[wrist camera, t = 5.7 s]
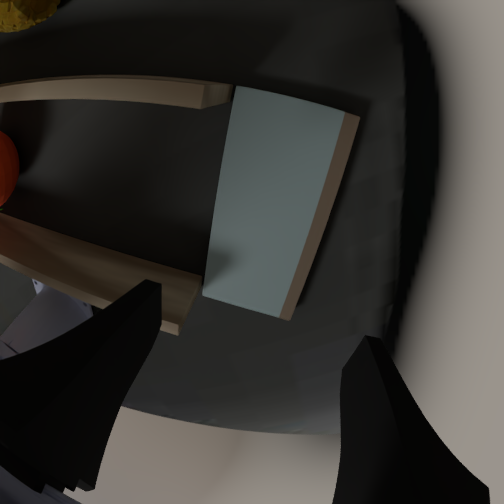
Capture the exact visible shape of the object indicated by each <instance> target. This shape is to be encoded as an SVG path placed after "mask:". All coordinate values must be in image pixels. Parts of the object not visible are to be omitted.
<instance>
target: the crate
mask: <svg viewBox="0 0 504 504" xmlns="http://www.w3.org/2000/svg"><path fill="white" fill-rule="evenodd" d="M232 89H233V85H232V84H226V83H219V82H212V81H204V80H196V79H187V78H177V77H164V76H148V75H76V76H61V77H49V78H40V79H31V80H24V81H17V82H11V83H5V84H0V103H1V102H11V101H24V100H43V99H100V100H120V101H134V102H146V103H156V104H166V105H174V106H182V107H189V108H196V109H203V108H207V107H211V106H215V105H219V104H223V103H227V102H230V99H231V94H232ZM0 263H2V264H4V265H6V266H8V267H10V268H12V269H14V270H16V271H18V272H20V273H22V274H24V275H26V276H28V277H30V278H32V279H34V280H36V281H39V282H41V283H43V284H45V285H47V286H49V287H52V288H54V289H56V290H58V291H60V292H63V293H65V294H67V295H70V296H72V297H74V298H77V299H79V300H82V301H84V302H86V303H89V304H91V305H94V306H96V307H99V308H101V309H104V308H105V307H107V306H108V305H110V304H111V303H113V302H114V301H115V300H117V299H118V298H120V297H121V296H122V295H124V294H125V293H127V292H128V291H129V290H131V289H132V288H133V287H135V286H136V285H138V284H139V283H140V282H142V281H143V280H145V279H148V280H151V281H154V282H158V283H161V284H162V325H161V328H160V330H162V331H165V332H168V333H172V334H175V335H179V333H180V330H181V328H182V326H183V324H184V322H185V320H186V318H187V315H188V313H189V311H190V309H191V307H192V305H193V303H194V301H195V299H196V297H197V294H198V292H199V290H200V288H201V284H202V276H200V275H196V274H193V273H189V272H186V271H182V270H179V269H175V268H172V267H168V266H165V265H161V264H158V263H154V262H151V261H148V260H144V259H141V258H138V257H134V256H131V255H128V254H124V253H121V252H118V251H114V250H111V249H108V248H105V247H102V246H98V245H95V244H92V243H89V242H86V241H83V240H80V239H76V238H73V237H70V236H67V235H64V234H61V233H58V232H55V231H52V230H49V229H46V228H43V227H40V226H37V225H34V224H31V223H28V222H26V221H23V220H20V219H17V218H14V217H11V216H8V215H6V214H3V213H0Z"/></svg>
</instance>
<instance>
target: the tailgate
mask: <svg viewBox="0 0 504 504" xmlns="http://www.w3.org/2000/svg"><path fill="white" fill-rule="evenodd" d="M359 120H360V117H359V116H357V115H354V114H351V113H348V112H345V111H341V110H338V109H335V108H332V107H328V106H325V105H321V104H318V103H314V102H310V101H307V100H303V99H299V98H295V97H291V96H287V95H282V94H278V93H274V92H269V91H264V90H259V89H254V88H249V87H243V86H236V90H235V95H234V100H233V105H232V110H231V116H230V121H229V126H228V132H227V137H226V143H225V148H224V154H223V160H222V165H221V171H220V177H219V183H218V189H217V196H216V202H215V208H214V215H213V221H212V228H211V235H210V242H209V249H208V256H207V264H206V271H205V279H204V287H203V296H206V297H210V298H213V299H216V300H220V301H223V302H226V303H230V304H233V305H236V306H240V307H243V308H247V309H250V310H254V311H257V312H261V313H265V314H268V315H272V316H276V317H279V318H281V319H285V320H289V321H290V319H291V316H292V314H293V311H294V309H295V306H296V304H297V301H298V299H299V296H300V294H301V291H302V289H303V286H304V283H305V281H306V278H307V276H308V273H309V270H310V268H311V265H312V262H313V260H314V257H315V254H316V252H317V249H318V246H319V243H320V241H321V238H322V235H323V232H324V229H325V226H326V224H327V221H328V218H329V215H330V212H331V209H332V206H333V203H334V200H335V197H336V194H337V191H338V188H339V185H340V182H341V179H342V176H343V173H344V170H345V167H346V163H347V160H348V157H349V154H350V150H351V147H352V144H353V141H354V137H355V134H356V130H357V127H358V124H359Z"/></svg>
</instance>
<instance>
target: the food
mask: <svg viewBox="0 0 504 504" xmlns="http://www.w3.org/2000/svg"><path fill="white" fill-rule="evenodd" d="M59 3H60V0H0V32H6V33H7V32H14V31H17V32H19V31H21V30H24V29H27V28H28V29H29V28H31V27H32V26H34V25H37V24H39V23H41V22H42V21H45V20H46V19H47V18H48V17H50V16H52V15H53V14H54V13H55V12H56V11H57V5H58V4H59Z"/></svg>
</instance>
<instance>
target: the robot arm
mask: <svg viewBox="0 0 504 504" xmlns="http://www.w3.org/2000/svg"><path fill="white" fill-rule="evenodd" d="M33 283H34V286H35V289H36V292H37V295H36V296H35V298H34V299H33V300H32V301H31V302H30V303H29V304H28V305H27V306H26V307H25V308H24V310H23V311H22V312H21V313H20V314H19V315H18V316H17V318H16V319H15V320H14V321H13V322H12V323H11V325H10V326H9V327H8V328H7V329H6V331H5V332H4V333H3V334H2V335H1V337H0V504H81V503H80V502H78V501H76V500H74V499H72V498H70V497H68V496H67V495H65V494H63V491H64V489H65V487H66V488H67V489H69V490H71V491H73V492H74V491H75V488H76V487H78V488H80V489H82V490H84V491H90V490H93V489H95V485H96V481H97V477H98V473H99V469H100V465H101V461H102V458H103V455H104V451H105V448H106V445H107V442H108V439H109V436H110V433H111V430H112V427H113V425H114V422H115V419H116V417H117V414H118V412H119V409H120V407H121V404H122V402H123V400H124V398H125V396H126V394H127V392H128V390H129V388H130V387H131V385H132V383H133V381H134V379H135V378H136V376H137V374H138V372H139V370H140V369H141V367H142V365H143V363H144V362H145V360H146V358H147V356H148V354H149V353H150V351H151V349H152V347H153V345H154V342H155V340H156V337H157V335H158V333H159V330H160V328H161V325H162V284H161V283H158V282H154V281H151V280H148V279H145V280H143V281H142V282H140V283H139V284H138V285H136V286H135V287H133V288H132V289H131V290H129V291H128V292H127V293H125V294H124V295H122V296H121V297H120V298H118V299H117V300H115V301H114V302H113V303H111V304H110V305H108V306H107V307H105V308H104V309H103V310H101V311H100V312H98V313H97V314H95V315H94V316H93V312H92V307H91V304H89V303H86V302H84V301H82V300H79V299H77V298H74V297H72V296H70V295H67V294H65V293H63V292H60V291H58V290H56V289H54V288H52V287H49V286H47V285H45V284H43V283H41V282H39V281H36V280H34V279H33ZM340 418H341V454H340V463H339V471H338V477H337V483H336V488H335V494H334V498H333V503H332V504H490V496H489V488H488V487H487V486H486V485H485V484H484V483H482V482H481V481H480V480H479V479H478V478H477V477H475V476H474V475H473V474H472V473H471V472H470V471H469V470H468V469H467V468H466V467H465V466H464V465H463V464H462V463H461V462H460V461H459V460H458V459H457V458H456V457H455V456H454V455H453V454H452V452H451V451H450V450H449V449H448V447H447V446H446V445H445V444H444V443H443V441H442V440H441V439H440V438H439V436H438V435H437V433H436V432H435V431H434V429H433V428H432V426H431V425H430V424H429V422H428V421H427V420H426V418H425V416H424V415H423V414H422V411H421V410H420V408H419V407H418V405H417V403H416V402H415V400H414V398H413V397H412V395H411V393H410V391H409V390H408V388H407V386H406V384H405V383H404V381H403V379H402V377H401V375H400V373H399V372H398V370H397V368H396V366H395V364H394V362H393V360H392V359H391V357H390V355H389V353H388V351H387V349H386V348H385V346H384V344H383V342H382V341H381V339H380V338H376V337H371V336H366V335H365V336H364V338H363V339H362V341H361V342H360V344H359V345H358V347H357V348H356V350H355V351H354V353H353V354H352V356H351V357H350V359H349V360H348V362H347V363H346V365H345V366H344V367H343V369H342V377H341V388H340Z"/></svg>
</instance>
